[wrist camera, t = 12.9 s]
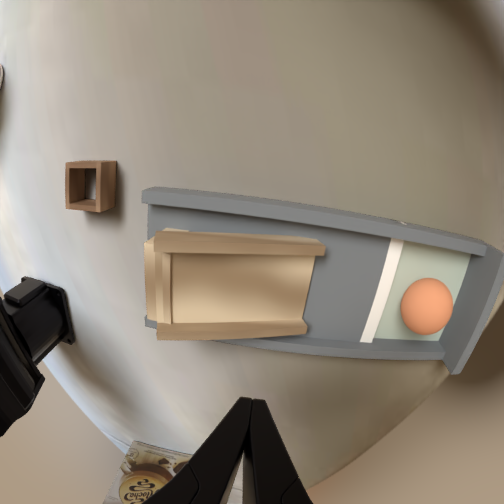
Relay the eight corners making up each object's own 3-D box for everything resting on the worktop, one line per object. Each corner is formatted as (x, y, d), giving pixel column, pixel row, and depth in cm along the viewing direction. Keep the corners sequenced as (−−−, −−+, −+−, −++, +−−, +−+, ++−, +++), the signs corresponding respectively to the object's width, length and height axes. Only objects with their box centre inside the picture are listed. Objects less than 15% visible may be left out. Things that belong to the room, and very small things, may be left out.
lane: (441, 346, 20) (459, 373, 17) (155, 313, 22) (134, 341, 18) (481, 240, 17) (510, 257, 13) (155, 186, 19) (126, 195, 15)
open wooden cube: (115, 206, 19) (100, 212, 17) (81, 203, 20) (65, 208, 18) (116, 160, 18) (101, 162, 16) (81, 160, 18) (65, 162, 17)
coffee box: (196, 454, 29) (165, 559, 14) (201, 474, 31) (177, 565, 16) (131, 438, 30) (88, 530, 15) (142, 460, 32) (108, 542, 17)
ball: (429, 353, 15) (446, 333, 17) (453, 299, 14) (466, 285, 16) (383, 326, 18) (406, 311, 20) (401, 274, 17) (422, 265, 19)
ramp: (304, 316, 21) (308, 365, 15) (170, 295, 21) (141, 336, 16) (321, 235, 19) (335, 266, 13) (172, 215, 19) (135, 238, 14)
